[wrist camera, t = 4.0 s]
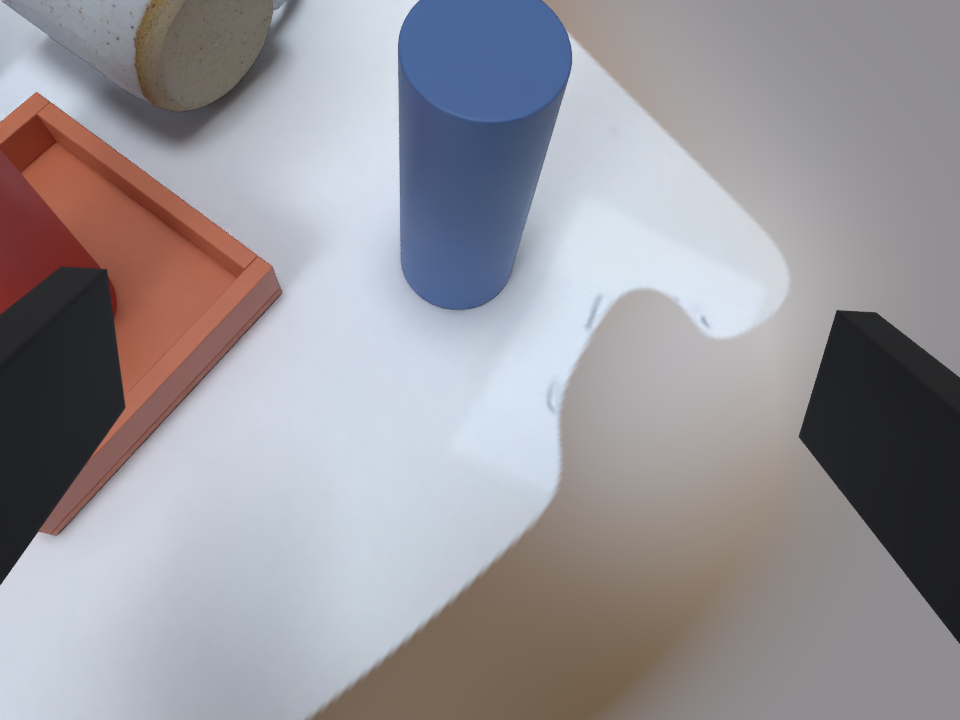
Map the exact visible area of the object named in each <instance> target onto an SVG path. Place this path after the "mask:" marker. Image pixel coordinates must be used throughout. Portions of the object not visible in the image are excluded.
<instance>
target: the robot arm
mask: <svg viewBox="0 0 960 720" xmlns="http://www.w3.org/2000/svg"><path fill="white" fill-rule="evenodd" d="M125 408H126V406H125V399H124V391H123V384H122V377H121V369H120V362H119V354H118V347H117V339H116V332H115V325H114V317H113V310H112V302H111V295H110V287H109V280H108V273H107V269H98V268H80V267H62V266H61V267H60V268H58V269H57V270H56V271H55V272H53V273H52V274H51V275H49V276H48V277H47V278H46V279H44V280H43V281H42V282H41V283H39V284H38V285H37V286H36V287H34V288H33V289H32V290H31V291H29V292H28V293H27V294H26V295H24V296H23V297H22V298H20V299H19V300H18V301H17V302H15V303H14V304H13V305H12V306H10V307H9V308H8V309H7V310H5V311H4V312H3V313H2V314H0V585H1V584H2V582H3V581H4V579H5V578H6V576H7V575H8V574H9V572H10V571H11V569H12V568H13V567H14V565H15V564H16V562H17V561H18V559H19V558H20V557H21V555H22V554H23V552H24V551H25V550H26V548H27V547H28V545H29V544H30V543H31V541H32V540H33V538H34V537H35V535H36V534H37V533H38V531H39V530H40V528H41V527H42V526H43V524H44V523H45V521H46V520H47V518H48V517H49V516H50V514H51V513H52V511H53V510H54V509H55V507H56V506H57V504H58V503H59V502H60V500H61V499H62V497H63V496H64V494H65V493H66V492H67V490H68V489H69V487H70V486H71V485H72V483H73V482H74V480H75V479H76V477H77V476H78V475H79V473H80V472H81V470H82V469H83V468H84V466H85V465H86V463H87V462H88V460H89V459H90V458H91V456H92V455H93V453H94V452H95V451H96V449H97V448H98V446H99V445H100V444H101V442H102V441H103V439H104V438H105V436H106V435H107V434H108V432H109V431H110V429H111V428H112V427H113V425H114V424H115V422H116V421H117V419H118V418H119V417H120V415H121V414H122V412H123V411H124V410H125ZM799 438H800V439H801V440H802V442H803V443H804V444H805V445H806V447H807V448H808V449H809V451H810V452H811V453H812V455H813V456H814V457H815V458H816V460H817V461H818V462H819V463H820V465H821V466H822V467H823V469H824V470H825V471H826V472H827V474H828V475H829V476H830V477H831V479H832V480H833V481H834V483H835V484H836V485H837V486H838V488H839V489H840V490H841V492H842V493H843V494H844V496H845V497H846V498H847V500H848V501H849V502H850V503H851V505H852V506H853V507H854V509H855V510H856V511H857V512H858V514H859V515H860V516H861V517H862V519H863V520H864V521H865V522H866V524H867V525H868V526H869V528H870V529H871V530H872V532H873V533H874V534H875V535H876V537H877V538H878V539H879V541H880V542H881V543H882V544H883V546H884V547H885V548H886V550H887V551H888V552H889V553H890V555H891V556H892V557H893V559H894V560H895V561H896V563H897V564H898V565H899V566H900V568H901V569H902V570H903V571H904V573H905V574H906V575H907V577H908V578H909V579H910V580H911V582H912V583H913V584H914V585H915V587H916V588H917V590H918V591H919V592H920V593H921V595H922V596H923V597H924V598H925V600H926V601H927V602H928V604H929V605H930V606H931V607H932V609H933V610H934V611H935V613H936V614H937V615H938V617H939V618H940V619H941V620H942V622H943V623H944V624H945V626H946V627H947V628H948V629H949V631H950V632H951V633H952V635H953V636H954V637H955V638H956V639H957V641H958V642H959V643H960V377H958V376H957V375H956V374H954V373H953V372H952V371H951V370H949V369H948V368H947V367H945V366H944V365H943V364H942V363H940V362H939V361H938V360H936V359H935V358H934V357H933V356H931V355H930V354H929V353H927V352H926V351H925V350H924V349H922V348H921V347H920V346H918V345H917V344H916V343H915V342H913V341H912V340H911V339H909V338H908V337H907V336H906V335H904V334H903V333H902V332H900V331H899V330H898V329H897V328H895V327H894V326H893V325H891V324H890V323H889V322H887V321H886V320H885V319H884V318H882V317H881V316H880V315H879V314H877V313H874V312H858V311H840V310H837V311H836V314H835V318H834V321H833V324H832V328H831V331H830V335H829V338H828V341H827V344H826V348H825V351H824V355H823V358H822V361H821V364H820V368H819V371H818V374H817V378H816V381H815V384H814V388H813V391H812V394H811V398H810V402H809V404H808V408H807V411H806V414H805V418H804V421H803V424H802V428H801V431H800V434H799Z"/></svg>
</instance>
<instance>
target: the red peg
mask: <svg viewBox="0 0 960 720" xmlns="http://www.w3.org/2000/svg"><path fill="white" fill-rule="evenodd" d="M61 266H62V267H80V268H98V269H102V268H101V267H100V266H99V265H98V264H97V263H96V261H95V260H94V259H93V258H92V257H91V255H90V254H89V253H88V252H87V251H86V250H85V248H84V247H83V246H82V245H81V244H80V242H79V241H78V240H77V239H76V238H75V237H74V235H73V234H72V233H71V232H70V231H69V229H68V228H67V227H66V226H65V225H64V224H63V222H62V221H61V220H60V219H59V218H58V216H57V215H56V214H55V213H54V212H53V211H52V209H51V208H50V207H49V206H48V205H47V203H46V202H45V201H44V200H43V199H42V198H41V196H40V195H39V194H38V193H37V192H36V190H35V189H34V188H33V187H32V186H31V185H30V183H29V182H28V181H27V180H26V179H25V177H24V176H23V175H22V174H21V173H20V172H19V170H18V169H17V168H16V167H15V166H14V164H13V163H12V162H11V161H10V160H9V159H8V157H7V156H6V155H5V154H4V153H3V152H2V150H1V149H0V314H2V313H3V312H4V311H5V310H7V309H8V308H9V307H10V306H12V305H13V304H14V303H15V302H17V301H18V300H19V299H20V298H22V297H23V296H24V295H26V294H27V293H28V292H29V291H31V290H32V289H33V288H34V287H36V286H37V285H38V284H39V283H41V282H42V281H43V280H44V279H46V278H47V277H48V276H49V275H51V274H52V273H53V272H55V271H56V270H57V269H58V268H60V267H61ZM108 280H109V287H110V295H111V302H112V310H113V317H114V316H115V312H116V294H115V290H114V287H113V285H112V282H111V280H110V279H109V277H108Z"/></svg>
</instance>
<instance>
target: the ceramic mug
mask: <svg viewBox="0 0 960 720" xmlns="http://www.w3.org/2000/svg"><path fill="white" fill-rule="evenodd" d="M1 1H2V2H4V3H5V4H6V5H8V6H9V7H10V8H11V9H13V10H14V11H15V12H17V13H18V14H20V15H21V16H22V17H24V18H25V19H27V20H28V21H29V22H31V23H32V24H33V25H35V26H36V27H38V28H39V29H40V30H42V31H43V32H45V33H46V34H47V35H49V36H50V37H52V38H53V39H54V40H56V41H57V42H58V43H60V44H61V45H63V46H64V47H65V48H67V49H68V50H70V51H71V52H73V53H74V54H76V55H77V56H78V57H80V58H81V59H83V60H84V61H86V62H87V63H89V64H90V65H91V66H93V67H94V68H95V69H97V70H98V71H99V72H101V73H102V74H103V75H104V76H106V77H107V78H108V79H109V80H111V81H112V82H113V83H115V84H116V85H118V86H119V87H121V88H122V89H124V90H125V91H127V92H129V93H130V94H132V95H133V96H135V97H138V98H140V99H142V100H144V101H146V102H148V103H150V104H152V105H154V106H156V107H159V108H162V109H164V110H170V111H176V112H180V111H188V110H193V109H197V108H201V107H203V106H206V105H208V104H210V103H212V102H214V101H215V100H217V99H219V98H220V97H222V96H223V95H225V94H226V93H227V92H229V91H230V90H231V89H232V88H233V87H234V86H235V85H236V84H237V83H238V82H239V81H240V80H241V78H242V77H243V76H244V75H245V74H246V73H247V71H248V70H249V69H250V67H251V66H252V65H253V63H254V61H255V60H256V58H257V56H258V54H259V52H260V51H261V49H262V47H263V44H264V42H265V39H266V37H267V34H268V31H269V28H270V23H271V18H272V13H273V10H276V9H278V8H279V7H280V6H281V5H283V4H284V3H285V2H286V1H287V0H1Z"/></svg>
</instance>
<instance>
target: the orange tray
mask: <svg viewBox="0 0 960 720" xmlns="http://www.w3.org/2000/svg"><path fill="white" fill-rule="evenodd" d="M0 149H1V150H2V152H3V153H4V154H5V155H6V156H7V157H8V159H9V160H10V161H11V162H12V163H13V164H14V166H15V167H16V168H17V169H18V170H19V172H20V173H21V174H22V175H23V176H24V177H25V179H26V180H27V181H28V182H29V183H30V185H31V186H32V187H33V188H34V189H35V190H36V192H37V193H38V194H39V195H40V196H41V198H42V199H43V200H44V201H45V202H46V203H47V205H48V206H49V207H50V208H51V209H52V211H53V212H54V213H55V214H56V215H57V216H58V218H59V219H60V220H61V221H62V222H63V224H64V225H65V226H66V227H67V228H68V229H69V231H70V232H71V233H72V234H73V235H74V237H75V238H76V239H77V240H78V241H79V242H80V244H81V245H82V246H83V247H84V248H85V250H86V251H87V252H88V253H89V254H90V255H91V257H92V258H93V259H94V260H95V261H96V263H97V264H98V265H99V266H100V267H101V268H102V269H107V273H108V277H109V279H110V280H111V282H112V285H113V287H114V290H115V294H116V312H115V316H114V325H115V332H116V339H117V347H118V354H119V362H120V369H121V377H122V384H123V391H124V399H125V406H126V408H125V410H124V411H123V412H122V414H121V415H120V417H119V418H118V419H117V421H116V422H115V424H114V425H113V427H112V428H111V429H110V431H109V432H108V434H107V435H106V436H105V438H104V439H103V441H102V442H101V444H100V445H99V446H98V448H97V449H96V451H95V452H94V453H93V455H92V456H91V458H90V459H89V460H88V462H87V463H86V465H85V466H84V468H83V469H82V470H81V472H80V473H79V475H78V476H77V477H76V479H75V480H74V482H73V483H72V485H71V486H70V487H69V489H68V490H67V492H66V493H65V494H64V496H63V497H62V499H61V500H60V502H59V503H58V504H57V506H56V507H55V509H54V510H53V511H52V513H51V514H50V516H49V517H48V518H47V520H46V521H45V523H44V524H43V526H42V527H41V528H40V530H39V532H43V533H47V534H50V535H54V536H56V535H57V534H58V533H59V532H60V531H61V530H62V529H63V528H64V527H65V526H66V525H67V524H68V523H69V521H70V520H71V519H72V518H73V517H74V516H75V515H76V514H77V513H78V512H79V511H80V510H81V509H82V507H83V506H84V505H85V504H86V503H87V502H88V501H89V500H90V499H91V498H92V497H93V496H94V495H95V493H96V492H97V491H98V490H99V489H100V488H101V487H102V486H103V485H104V484H105V483H106V482H107V481H108V479H109V478H110V477H111V476H112V475H113V474H114V473H115V472H116V471H117V470H118V469H119V468H120V467H121V465H122V464H123V463H124V462H125V461H126V460H127V459H128V458H129V457H130V456H131V455H132V454H133V453H134V451H135V450H136V449H137V448H138V447H139V446H140V445H141V444H142V443H143V442H144V441H145V440H146V439H147V437H148V436H149V435H150V434H151V433H152V432H153V431H154V430H155V429H156V428H157V427H158V426H159V425H160V423H161V422H162V421H163V420H164V419H165V418H166V417H167V416H168V415H169V414H170V413H171V412H172V411H173V409H174V408H175V407H176V406H177V405H178V404H179V403H180V402H181V401H182V400H183V399H184V398H185V397H186V395H187V394H188V393H189V392H190V391H191V390H192V389H193V388H194V387H195V386H196V385H197V384H198V383H199V381H200V380H201V379H202V378H203V377H204V376H205V375H206V374H207V373H208V372H209V371H210V370H211V369H212V367H213V366H214V365H215V364H216V363H217V362H218V361H219V360H220V359H221V358H222V357H223V356H224V354H225V353H226V352H227V351H228V350H229V349H230V348H231V347H232V346H233V345H234V344H235V343H236V342H237V340H238V339H239V338H240V337H241V336H242V335H243V334H244V333H245V332H246V331H247V330H248V329H249V328H250V326H251V325H252V324H253V323H254V322H255V321H256V320H257V319H258V318H259V317H260V316H261V315H262V314H263V312H264V311H265V310H266V309H267V308H268V307H269V306H270V305H271V304H272V303H273V302H274V301H275V300H276V298H277V297H278V296H279V295H280V294H281V293H282V291H281V288H280V285H279V283H278V280H277V277H276V274H275V272H274V269H273V267H272V266H271V265H270V264H269V263H267V262H266V261H265V260H263V259H262V258H261V257H258V256H257V255H256V254H255V253H254V252H252V251H251V250H250V249H248V248H247V247H246V246H244V245H243V244H242V243H240V242H239V241H238V240H236V239H235V238H233V237H232V236H231V235H229V234H228V233H227V232H225V231H224V230H223V229H221V228H220V227H219V226H217V225H216V224H215V223H213V222H212V221H211V220H209V219H208V218H206V217H205V216H204V215H202V214H201V213H200V212H198V211H197V210H196V209H194V208H193V207H192V206H190V205H189V204H188V203H186V202H185V201H184V200H182V199H181V198H179V197H178V196H177V195H175V194H174V193H173V192H171V191H170V190H169V189H167V188H166V187H165V186H163V185H162V184H161V183H159V182H158V181H157V180H155V179H154V178H152V177H151V176H150V175H148V174H147V173H146V172H144V171H143V170H142V169H140V168H139V167H138V166H136V165H135V164H134V163H132V162H131V161H130V160H128V159H127V158H125V157H124V156H123V155H121V154H120V153H119V152H117V151H116V150H115V149H113V148H112V147H111V146H109V145H108V144H107V143H105V142H104V141H103V140H101V139H100V138H98V137H97V136H96V135H94V134H93V133H92V132H90V131H89V130H88V129H86V128H85V127H84V126H82V125H81V124H80V123H78V122H77V121H76V120H74V119H73V118H71V117H70V116H69V115H67V114H66V113H65V112H63V111H62V110H61V109H59V108H58V107H57V106H55V105H54V104H53V103H50V101H49V100H47V99H46V98H44V97H43V96H42V95H40V94H39V93H37V92H36V93H35V94H33V95H32V96H31V97H30V98H29V99H27V100H26V101H25V102H24V103H23V104H22V105H20V106H19V107H18V108H17V109H16V110H14V111H13V112H12V113H11V114H10V115H8V116H7V117H6V118H5V119H4V120H2V121H1V122H0Z"/></svg>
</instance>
